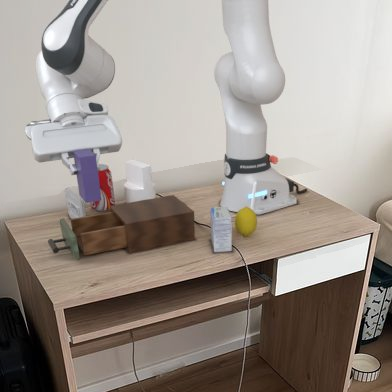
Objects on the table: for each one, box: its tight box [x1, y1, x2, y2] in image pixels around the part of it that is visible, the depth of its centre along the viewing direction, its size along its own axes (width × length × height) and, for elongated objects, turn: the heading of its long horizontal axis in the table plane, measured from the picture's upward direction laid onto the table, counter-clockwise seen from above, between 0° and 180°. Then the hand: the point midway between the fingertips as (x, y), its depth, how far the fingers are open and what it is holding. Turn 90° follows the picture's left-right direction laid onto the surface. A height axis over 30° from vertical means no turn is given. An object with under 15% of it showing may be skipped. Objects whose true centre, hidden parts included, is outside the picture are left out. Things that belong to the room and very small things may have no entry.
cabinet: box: [109, 194, 196, 254], centre depth 138 cm, size 18×14×8 cm
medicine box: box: [209, 206, 233, 253], centre depth 132 cm, size 8×4×9 cm, turn 5°
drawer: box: [47, 211, 128, 260], centre depth 133 cm, size 21×12×6 cm, turn 114°
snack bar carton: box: [73, 149, 101, 204], centre depth 121 cm, size 4×6×10 cm, turn 24°
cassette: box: [64, 187, 87, 219], centre depth 148 cm, size 12×2×8 cm, turn 32°
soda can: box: [89, 163, 116, 213], centre depth 154 cm, size 7×7×12 cm
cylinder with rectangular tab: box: [123, 158, 157, 203], centre depth 157 cm, size 9×9×12 cm
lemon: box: [234, 207, 258, 238], centre depth 136 cm, size 6×6×8 cm
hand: (85, 172), depth 122 cm, fingers closed on snack bar carton, 3 cm apart
